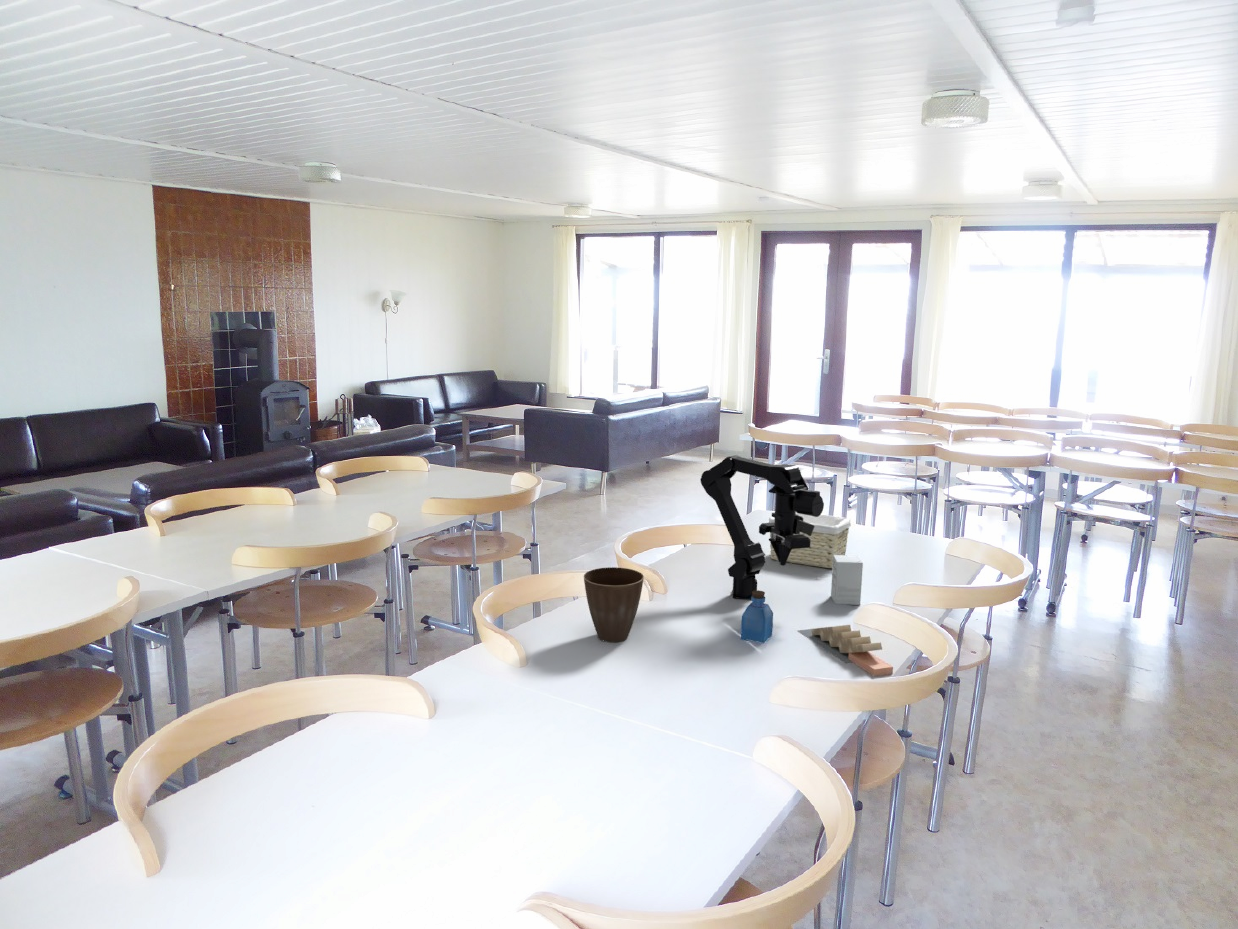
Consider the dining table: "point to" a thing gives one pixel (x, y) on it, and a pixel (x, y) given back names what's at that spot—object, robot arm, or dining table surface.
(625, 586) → the plant pot
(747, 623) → the perfume bottle
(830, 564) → the storage basket
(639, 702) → the dining table surface
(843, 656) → the mat
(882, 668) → the domino
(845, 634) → the domino
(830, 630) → the domino
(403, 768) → the dining table surface
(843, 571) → the supplement box
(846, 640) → the domino
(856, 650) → the domino
